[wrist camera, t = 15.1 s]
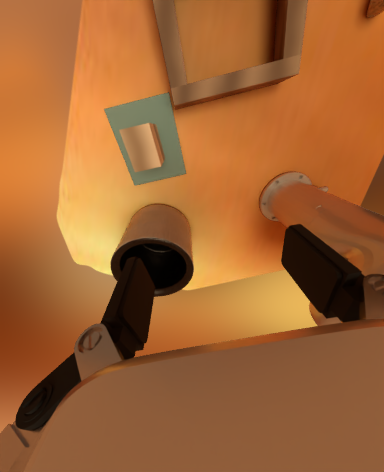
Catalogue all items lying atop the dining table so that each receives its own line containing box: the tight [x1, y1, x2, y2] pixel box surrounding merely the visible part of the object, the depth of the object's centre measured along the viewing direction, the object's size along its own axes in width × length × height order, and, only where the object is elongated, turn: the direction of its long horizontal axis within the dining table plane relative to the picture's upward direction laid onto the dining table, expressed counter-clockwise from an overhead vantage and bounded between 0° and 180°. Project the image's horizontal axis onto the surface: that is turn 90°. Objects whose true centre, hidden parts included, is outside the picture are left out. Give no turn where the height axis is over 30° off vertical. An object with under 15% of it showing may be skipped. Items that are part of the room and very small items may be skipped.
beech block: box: [119, 123, 165, 172], centre depth 29 cm, size 4×6×9 cm
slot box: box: [153, 0, 308, 109], centre depth 23 cm, size 19×15×6 cm
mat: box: [104, 92, 186, 185], centre depth 33 cm, size 12×14×1 cm
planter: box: [111, 204, 194, 297], centre depth 38 cm, size 16×16×16 cm
